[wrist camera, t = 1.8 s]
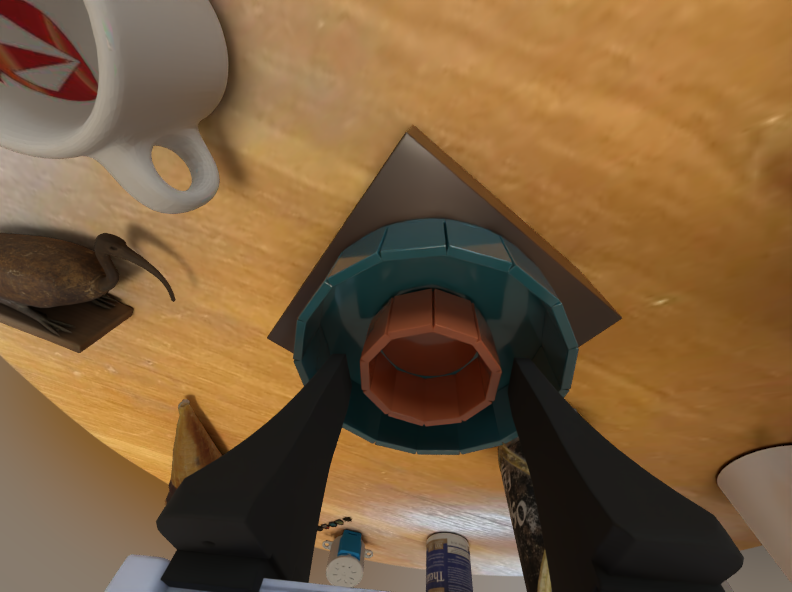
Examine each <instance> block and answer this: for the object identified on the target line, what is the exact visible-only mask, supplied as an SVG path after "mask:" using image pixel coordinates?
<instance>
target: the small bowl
mask: <svg viewBox="0 0 792 592" xmlns="http://www.w3.org/2000/svg"><path fill="white" fill-rule="evenodd" d="M381 350H383V352H384V354H385V355H386V357H387V358H388V359H389V360H390V361H391V362H392V363H393V364H394V365H396V366H397V367H399V368H400V369H402V370H404V371H407V372H409V373H412V374H416V375H421V376H440V375H445V374H449V373H452V372H454V371H457V370H459V369H461V368H462V367H464V366H465V365H466V364H467V363H469V362H470V361H471V359H472V358H473V357H474V355H475V354H476V352H478V357H477V358H476V359H474V360H473V361H472V362H470V363H469V364H468V365H467V366H465V367H464V368H463V369H461V370H460V371H459V372H458V373H456V374H454V375H447V376H440V377H433V378H426V379H425V378H422V377H419V376H415V375H412V374H409V373H406V372H403V371H400V370H397V369H396V368H395V367H394V366H393V365H392V364H391V363H390V362H389V360H388V359H387V358H386V357H385V356H384V355H383V354H382V353H381V352H380V351H381ZM501 374H502V371H501V366H500V362H499V358H498V354H497V351H496V347H495V343H494V339H493V336H492V332H491V328H490V327H489V325H488V324H487V322H486V321H485V319H484V318H483V316H482V315H481V313H480V312H479V310H478V309H477V308H476V306H475V305H474V303H471V301H470V300H467V299H464V298H461V297H458V296H455V295H453V294H450V293H447V292H444V291H441V290H438V289H434V291H433V290H432V288H430V289H425V290H421V291H416V292H411V293H407V294H402V295H397V296H395V297H394V298H391V299H390V300H389V301H388V303H387V304H386V305H385V306H384V307H383V308H382V309H381V310H380V311H379V312H378V314H377V315H376V316H375V317H374V318H373V319H372V320H371V323H370V326H369V329H368V333H367V336H366V340H365V343H364V347H363V351H362V354H361V358H360V375H361V389H362V390H363V393H364V394H365V395H366V396H367V397H368V398H369V399H370V400H371V401H372V402H373V403H374V404H375V405H376V406H377V407H378V408H379V409H380V410H381V411H382V412H383V413H384V414H388V416H390V417H393V418H397V419H400V420H403V421H407V422H410V423H413V424H417V425H420V426H423V425H425V426H435V425H444V424H453V423H461V422H462V420H463V421H466V420H468V419H469V418H471V417H472V416H474V415H475V414H477V413H479V412H480V411H482V410H483V409H485V408H486V407H488V406H489V405H491V404H492V401H494V400H495V396H496V393H497V389H498V385H499V381H500V378H501Z"/></svg>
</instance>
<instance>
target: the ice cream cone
mask: <svg viewBox="0 0 792 592" xmlns="http://www.w3.org/2000/svg"><path fill="white" fill-rule="evenodd" d="M189 405H190V401H189V400H188V399H185V400H183V401H182V402H181V403H180V404H179V405H178V409H179V414H180V416H179V420H178V423H177V429H176V437H175V442H174V448H173V461H172V472H171V480H170V483H169V493H168V496H167V498H166V500H165V505H167V503H168V502H169V500H170V499H171V497H172V496H173V494H174V493H175V491H176V489H177V488H178V487H179V485H180V484H181V483H182V481H183V480H184V478H186V477H188V476H189V475H191V474H193V473H195V472H196V471H198V470H200V469H201V468H203V467H205V466H206V465H208V464H210V463H211V462H213V461H215V460H216V459H218V458H219V457H221V456H222V454H221V453H220V452H219V450H218V449H217V447H216V446H215V444H214V442H213V441H212V440H211V438H210V436H209V435H208V433H207V432H206V431H205V429H204V427H203V425H202V424H201V422H200V421H199V419H198V418H197V416H196V415H195V413H194V412H193V409H192V408H191V406H189Z"/></svg>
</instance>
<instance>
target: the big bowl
mask: <svg viewBox="0 0 792 592" xmlns="http://www.w3.org/2000/svg"><path fill="white" fill-rule="evenodd" d="M430 288H432V290H433V291H434V289H438V290H441V291H444V292H447V293H450V294H453V295H455V296H458V297H461V298H464V299H467V300H470V301H471V303H474V305H475V306H476V308H477V309H478V310H479V312H480V313H481V315H482V316H483V318H484V319H485V321H486V322H487V324H488V325H489V327H490V328H491V332H492V336H493V339H494V343H495V347H496V351H497V354H498V358H499V362H500V366H501V371H502V374H501V378H500V381H499V385H498V389H497V393H496V396H495V400H494V401H492V404H491V405H489V406H488V407H486V408H485V409H483V410H482V411H480V412H479V413H477V414H475V415H474V416H472V417H471V418H469V419H468V420H466V421H463V420H462V422H461V423H453V424H444V425H435V426H425V425H423V426H420V425H417V424H413V423H410V422H407V421H403V420H400V419H397V418H393V417H390V416H388V414H384V413H383V412H382V411H381V410H380V409H379V408H378V407H377V406H376V405H375V404H374V403H373V402H372V401H371V400H370V399H369V398H368V397H367V396H366V395H365V394H364V393H363V390H362V389H361V375H360V358H361V354H362V351H363V347H364V343H365V340H366V336H367V333H368V329H369V326H370V323H371V320H372V319H373V318H374V317H375V316H376V315H377V314H378V312H379V311H380V310H381V309H382V308H383V307H384V306H385V305H386V304H387V303H388V301H389V300H390V299H391V298H394V297H395V296H397V295H402V294H407V293H411V292H416V291H421V290H425V289H430ZM578 350H579V349H578V343H577V340H576V338H575V335H574V333H573V330H572V327H571V325H570V322H569V320H568V317H567V315H566V312H565V309H564V307H563V304H562V302H561V301H560V299H559V298H558V296H557V295H556V293H555V292H554V290H553V289H552V287H551V286H550V284H549V283H548V281H547V280H546V278H545V277H544V275H543V274H542V272H541V271H540V269H539V268H538V266H537V265H536V264H534V263H533V262H532V261H531V260H530V259H529V258H528V257H527V256H526V255H525V254H524V253H522V252H521V251H520V250H519V249H518V248H517V247H516V246H515V245H513V244H512V243H510V242H509V241H508V240H506V239H505V238H503V237H502V236H500V235H498V234H496V233H494V232H492V231H490V230H488V229H485V228H482V227H480V226H477V225H474V224H471V223H467V222H462V221H457V220H451V219H439V218H427V219H413V220H408V221H402V222H397V223H394V224H391V225H388V226H385V227H382V228H379V229H377V230H375V231H373V232H371V233H369V234H367V235H365V236H364V237H362V238H360V239H359V240H357V241H356V242H354V243H353V244H352V245H351V246H349V247H348V248H346V249H344V251H342V252H341V253H340V255H339V256H338V258H337V259H336V260H335V262H334V263H333V264H332V266H331V267H330V269H329V270H328V272H327V273H326V275H325V276H324V277H323V279H322V280H321V282H320V283H319V284H318V286H317V288H316V289H315V291H314V292H313V294H312V295H311V297H310V299H309V300H308V302H307V303H306V305H305V307H304V308H303V310H302V311H301V313H300V315H299V316H298V319H297V323H296V333H295V343H294V354H293V359H294V364H295V366H296V368H297V371H298V373H299V375H300V378H301V380H302V383H303V385H304V386H305V385H306V384H307V383H308V382H309V381H310V379H311V378H312V377H313V376H314V375H315V374H316V372H317V371H318V370H319V369H320V368H321V367H322V365H323V364H324V363H325V362H326V360H327V359H328V358H329V357H330V356H331V355H332V354H346V357H347V363H348V368H349V373H350V379H351V384H352V389H351V395H350V400H349V405H348V409H347V413H346V416H345V419H344V422H343V426H342V428H344V429H346V430H348V431H350V432H352V433H354V434H356V435H357V436H359V437H361V438H363V439H365V440H367V441H369V442H371V443H375V444H376V445H379V446H383V447H388V448H392V449H396V450H400V451H404V452H408V453H412V454H416V452H417V454H421V455H459V454H460V453H461V454H466V453H471V452H475V451H479V450H483V449H488V448H492V447H496V446H500V445H503V443H505V444H506V443H508V442H510V441H512V440H513V439H515V438H517V437H518V434H517V431H516V427H515V424H514V421H513V417H512V413H511V408H510V403H509V397H508V387H509V381H510V376H511V371H512V365H513V360H514V358H530V359H531V360H532V361H533V363H534V364H535V365H536V366H537V368H538V369H539V370H540V371H541V373H542V374H543V375H544V376H545V377H546V379H547V380H548V381H549V382H550V383H551V384H552V386H553V387H554V388H555V389H556V390H557V391H558V392H559V393H560V395H561V396H562V397H563V398H564V397H565V396H566V394H567V393H568V392H569V389H570V388H571V384H572V379H573V374H574V370H575V365H576V360H577V355H578ZM380 352H381V353H382V354H383V355H384V356H385V357H386V355H385V354H384V352H383V350H381V351H380ZM477 357H478V352H476V354H475V355H474V357H473V358H472V359H471V361H470V362H472V361H473V360H474V359H476V358H477ZM386 358H387V357H386ZM387 359H388V358H387ZM388 360H389V359H388ZM389 362H390V363H391V364H392V365H393V366H394V367H395V368H396V369H397V370H400V371H403V372H406V373H409V372H407V371H404V370H402V369H400V368H399V367H397V366H396V365H394V364H393V363H392V362H391V361H390V360H389ZM470 362H469V363H470ZM469 363H467V364H466V365H465V366H467V365H468V364H469ZM465 366H464V367H465ZM464 367H462V368H461V369H463V368H464ZM461 369H459V370H457V371H454V372H452V373H449V374H445V375H440V376H447V375H454V374H456V373H458V372H459V371H460V370H461ZM409 374H412V373H409ZM412 375H415V376H419V377H422V378H425V379H426V378H433V377H440V376H421V375H416V374H412Z"/></svg>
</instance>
